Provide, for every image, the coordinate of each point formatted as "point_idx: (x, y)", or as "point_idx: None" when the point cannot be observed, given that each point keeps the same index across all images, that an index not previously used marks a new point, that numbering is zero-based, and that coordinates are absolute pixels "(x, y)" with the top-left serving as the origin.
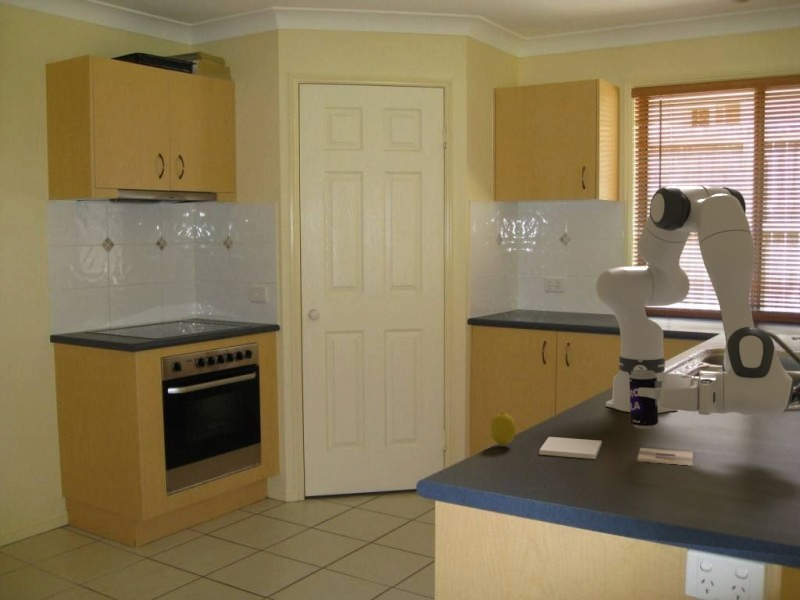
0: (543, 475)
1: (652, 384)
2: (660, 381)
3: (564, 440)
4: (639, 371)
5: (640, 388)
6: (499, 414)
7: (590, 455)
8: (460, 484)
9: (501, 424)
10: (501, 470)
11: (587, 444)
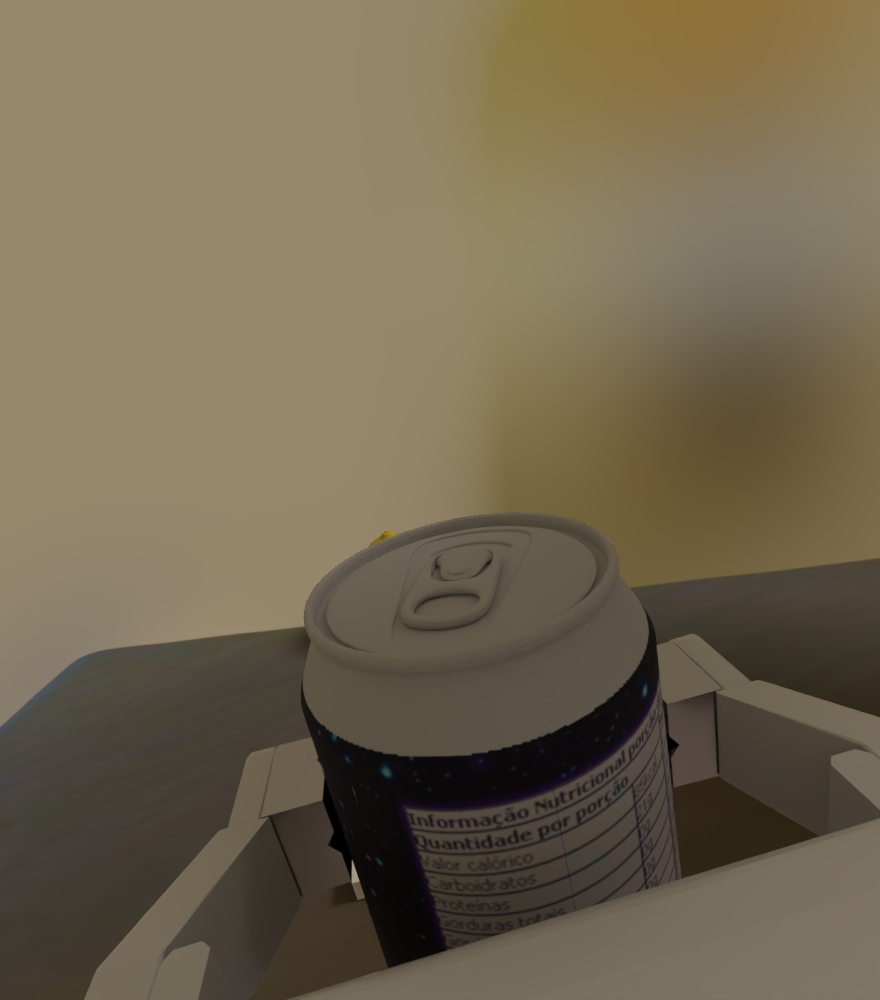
0: (92, 823)
1: (373, 823)
2: (877, 810)
3: None
4: (531, 540)
5: (248, 768)
6: (380, 536)
7: (353, 865)
8: (39, 704)
9: None
10: (162, 713)
11: None
